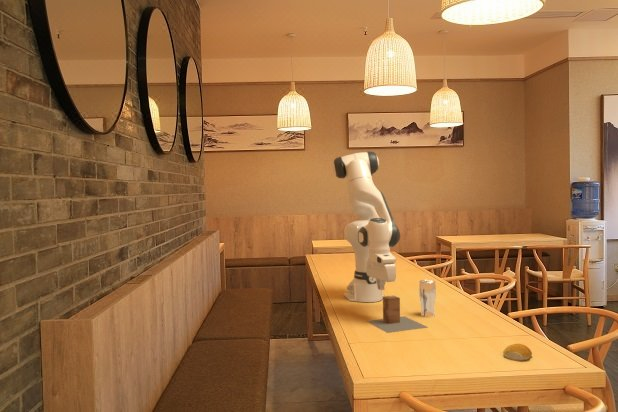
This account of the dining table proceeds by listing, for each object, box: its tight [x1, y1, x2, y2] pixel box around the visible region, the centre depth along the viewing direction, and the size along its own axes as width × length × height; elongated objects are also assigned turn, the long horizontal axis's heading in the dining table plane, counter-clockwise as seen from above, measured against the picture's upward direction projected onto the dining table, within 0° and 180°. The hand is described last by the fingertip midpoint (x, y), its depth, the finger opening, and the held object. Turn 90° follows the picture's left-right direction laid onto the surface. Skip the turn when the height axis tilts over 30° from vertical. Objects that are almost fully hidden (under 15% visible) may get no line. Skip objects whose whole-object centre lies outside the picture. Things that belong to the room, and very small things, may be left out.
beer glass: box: [418, 279, 437, 318], centre depth 217 cm, size 7×7×15 cm
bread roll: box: [502, 343, 533, 362], centre depth 166 cm, size 8×9×4 cm
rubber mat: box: [366, 316, 429, 334], centre depth 204 cm, size 18×18×1 cm
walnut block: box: [382, 295, 401, 324], centre depth 208 cm, size 5×5×10 cm
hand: (380, 289), depth 215 cm, fingers closed
